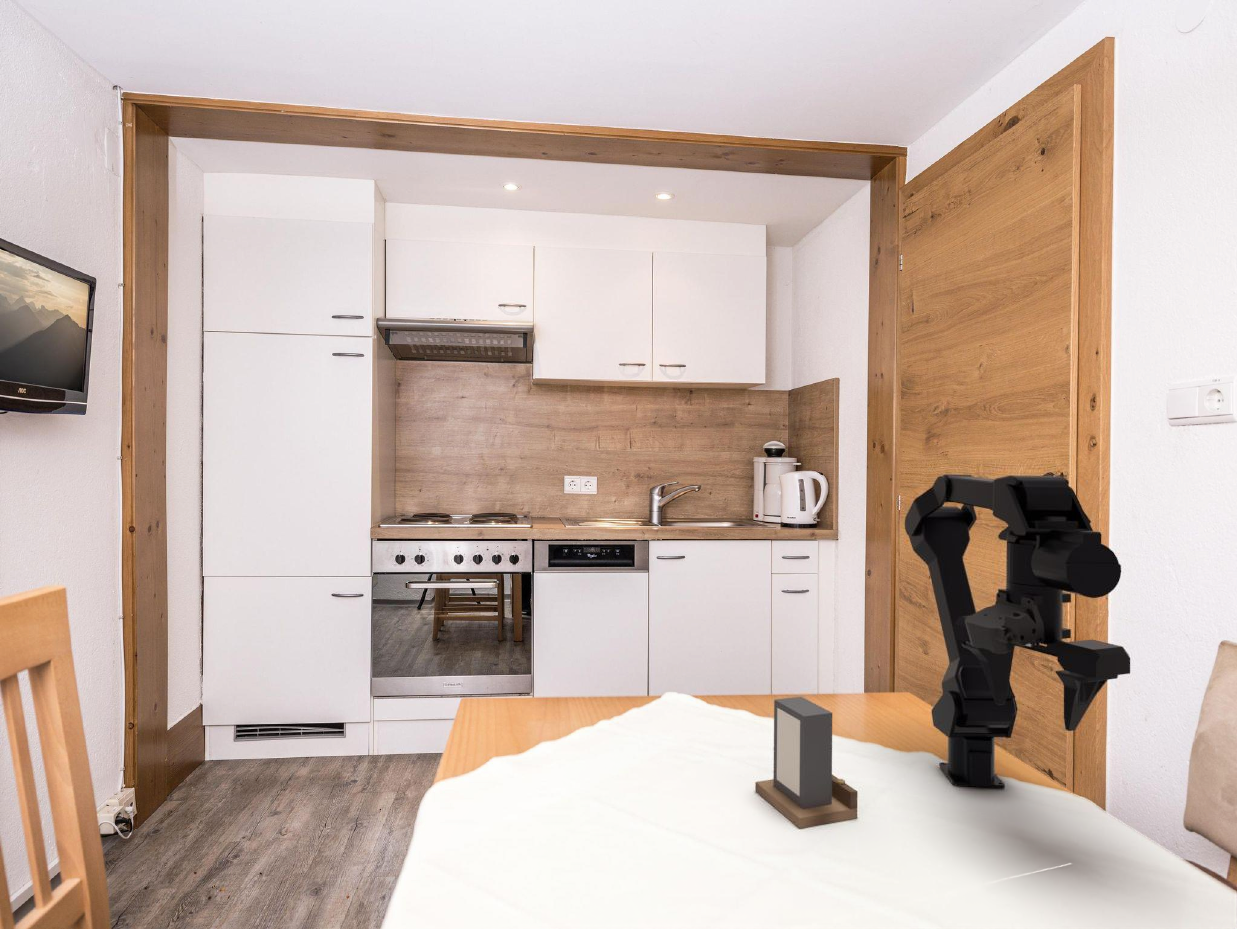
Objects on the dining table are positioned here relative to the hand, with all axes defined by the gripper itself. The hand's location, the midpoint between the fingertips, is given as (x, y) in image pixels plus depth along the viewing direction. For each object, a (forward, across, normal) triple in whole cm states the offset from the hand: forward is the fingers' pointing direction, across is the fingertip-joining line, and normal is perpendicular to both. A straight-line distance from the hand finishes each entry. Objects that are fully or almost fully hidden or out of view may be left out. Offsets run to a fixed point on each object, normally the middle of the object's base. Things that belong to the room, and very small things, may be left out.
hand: (1033, 716), depth 82 cm
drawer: (+13, -14, -22) cm, 29 cm away
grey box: (+12, -14, -22) cm, 29 cm away
